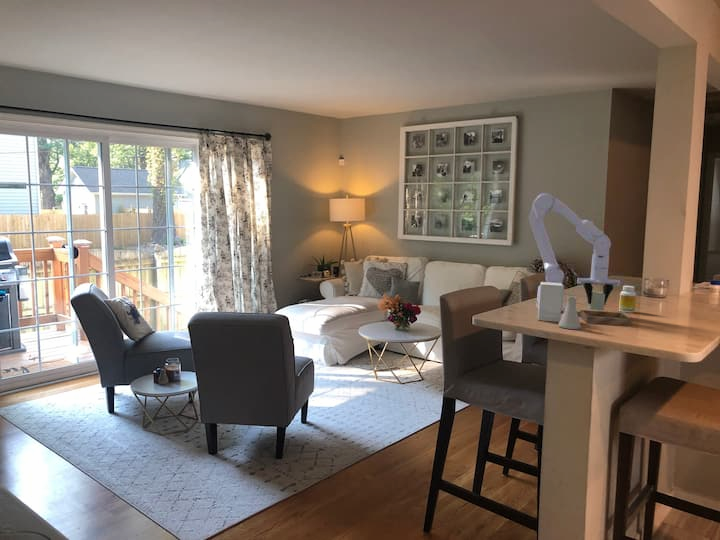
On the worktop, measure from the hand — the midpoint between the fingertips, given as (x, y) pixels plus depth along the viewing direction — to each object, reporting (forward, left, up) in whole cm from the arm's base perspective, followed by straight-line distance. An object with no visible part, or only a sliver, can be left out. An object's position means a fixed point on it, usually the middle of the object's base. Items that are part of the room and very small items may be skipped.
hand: (596, 304), depth 210 cm
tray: (0, -13, -4) cm, 13 cm away
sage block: (0, 0, -2) cm, 2 cm away
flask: (-14, -28, -4) cm, 32 cm away
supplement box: (-19, -17, -4) cm, 26 cm away
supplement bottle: (+13, +9, -4) cm, 16 cm away
